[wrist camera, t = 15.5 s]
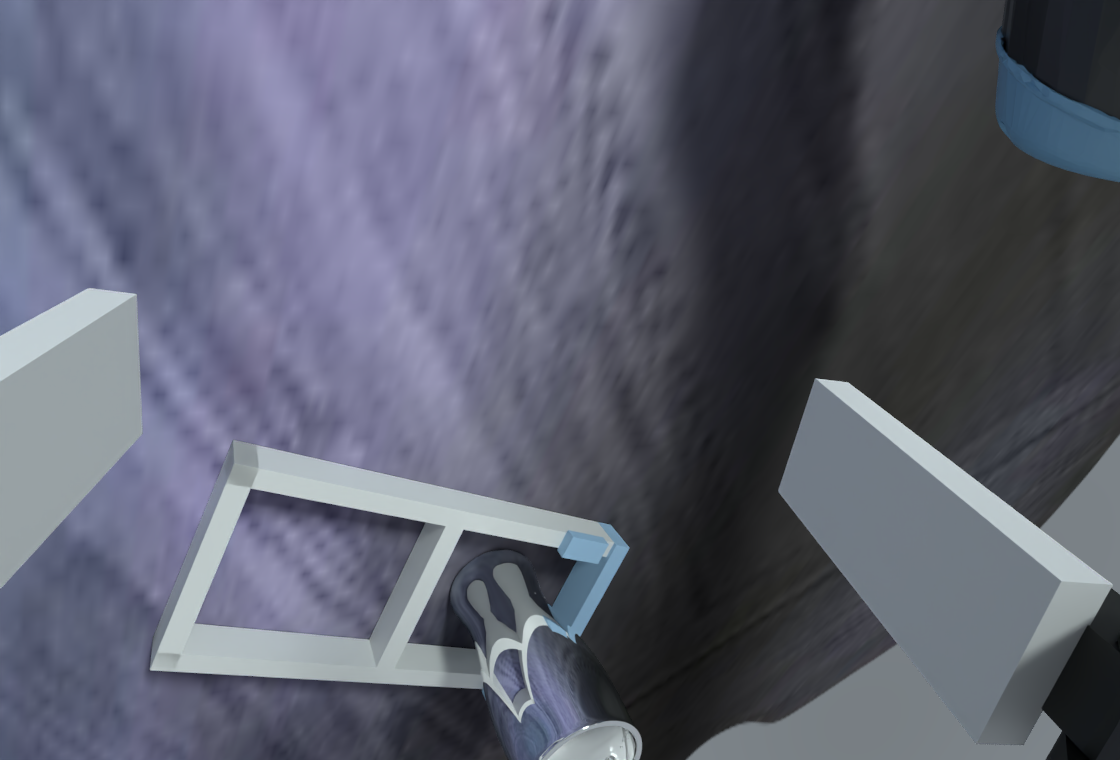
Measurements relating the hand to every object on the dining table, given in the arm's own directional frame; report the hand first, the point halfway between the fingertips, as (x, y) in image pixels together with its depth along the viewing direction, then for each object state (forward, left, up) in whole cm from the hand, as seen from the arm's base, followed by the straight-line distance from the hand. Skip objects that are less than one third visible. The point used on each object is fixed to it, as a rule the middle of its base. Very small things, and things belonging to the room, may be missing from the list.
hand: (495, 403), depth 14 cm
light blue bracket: (-10, +30, -25) cm, 40 cm away
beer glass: (-7, +28, -25) cm, 38 cm away
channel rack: (-1, +25, -25) cm, 35 cm away
